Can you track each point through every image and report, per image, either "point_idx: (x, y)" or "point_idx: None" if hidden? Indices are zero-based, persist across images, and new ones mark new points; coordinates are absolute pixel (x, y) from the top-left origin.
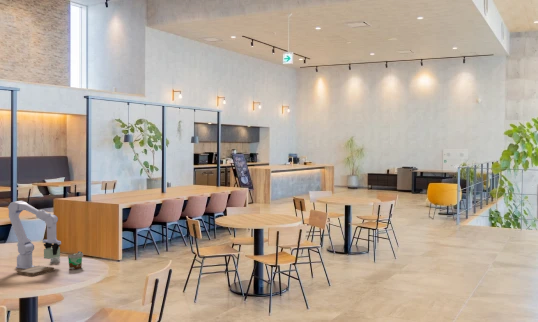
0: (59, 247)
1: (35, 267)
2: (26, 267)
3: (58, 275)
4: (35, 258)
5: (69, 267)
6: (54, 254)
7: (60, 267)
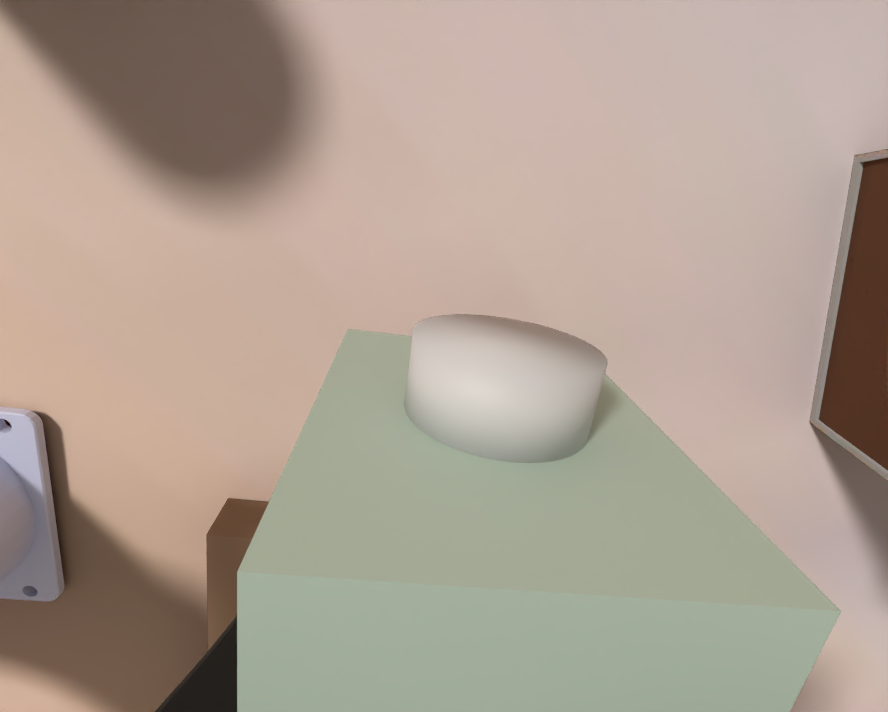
0: (816, 642)
1: None
2: (16, 567)
3: None
4: None
5: (850, 447)
6: None
7: (548, 315)
